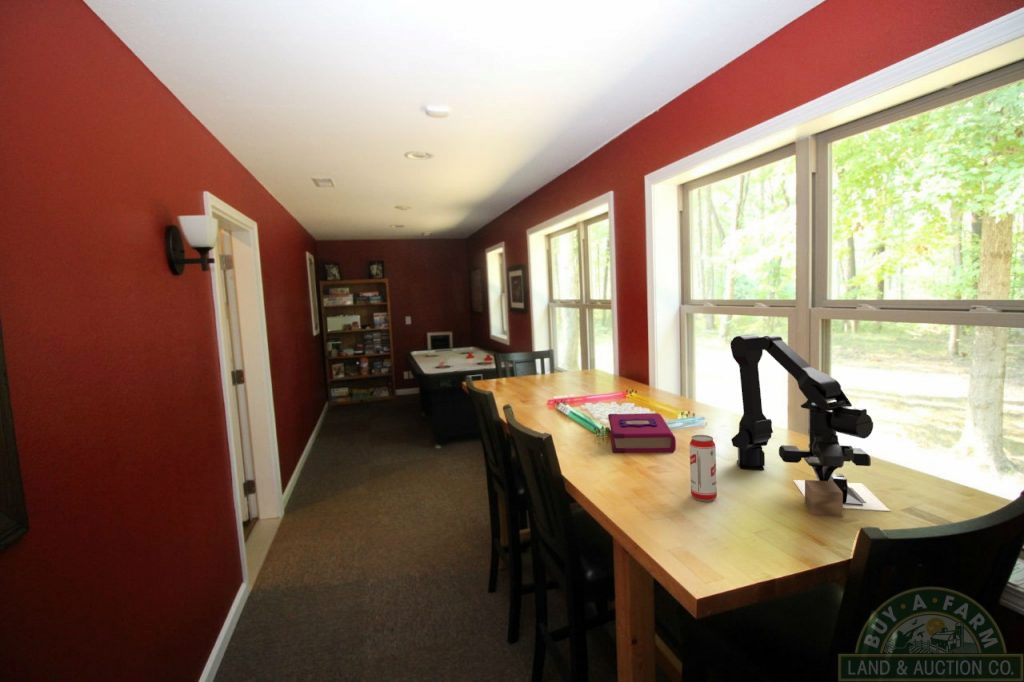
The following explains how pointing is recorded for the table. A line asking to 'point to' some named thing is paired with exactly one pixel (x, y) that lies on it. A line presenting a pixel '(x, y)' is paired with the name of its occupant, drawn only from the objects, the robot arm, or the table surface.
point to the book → (640, 434)
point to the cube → (823, 498)
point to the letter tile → (860, 491)
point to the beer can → (703, 468)
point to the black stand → (845, 490)
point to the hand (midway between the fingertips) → (822, 487)
